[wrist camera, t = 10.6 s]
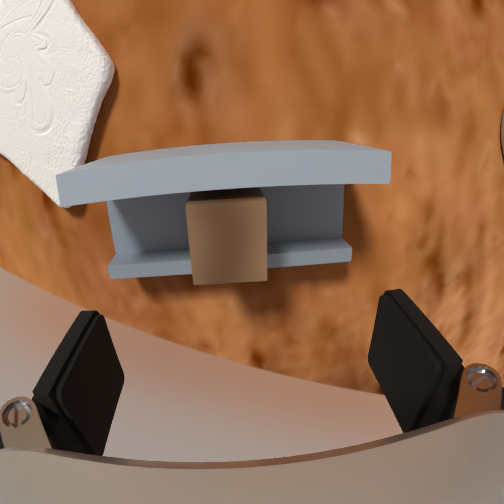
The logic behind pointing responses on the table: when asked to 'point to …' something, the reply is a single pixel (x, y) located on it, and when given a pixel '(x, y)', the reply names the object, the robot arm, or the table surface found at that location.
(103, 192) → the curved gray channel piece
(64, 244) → the table surface
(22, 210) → the table surface
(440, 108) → the table surface
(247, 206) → the brown block
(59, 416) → the robot arm
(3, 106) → the flat white fragment
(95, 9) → the table surface
